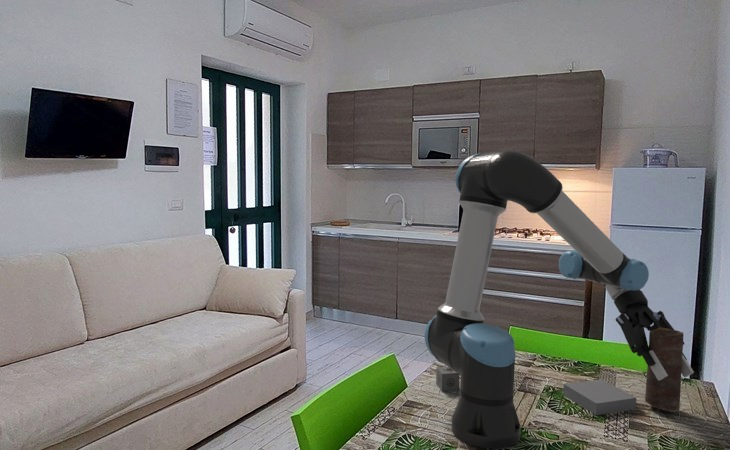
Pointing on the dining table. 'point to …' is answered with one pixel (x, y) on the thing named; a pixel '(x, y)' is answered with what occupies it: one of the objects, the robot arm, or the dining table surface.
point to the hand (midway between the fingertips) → (676, 376)
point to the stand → (599, 397)
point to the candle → (670, 357)
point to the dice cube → (447, 379)
